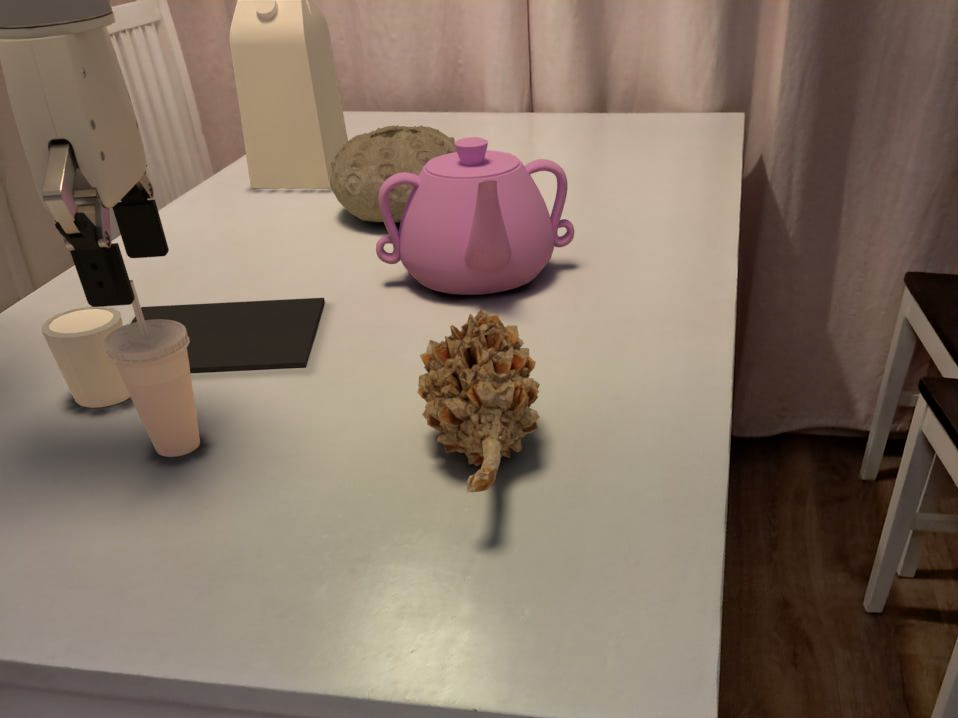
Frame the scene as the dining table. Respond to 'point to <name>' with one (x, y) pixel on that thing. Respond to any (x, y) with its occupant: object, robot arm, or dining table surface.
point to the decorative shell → (383, 167)
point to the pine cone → (480, 393)
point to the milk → (286, 92)
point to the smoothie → (157, 379)
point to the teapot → (474, 221)
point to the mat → (245, 332)
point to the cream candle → (86, 354)
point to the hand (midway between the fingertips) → (131, 278)
